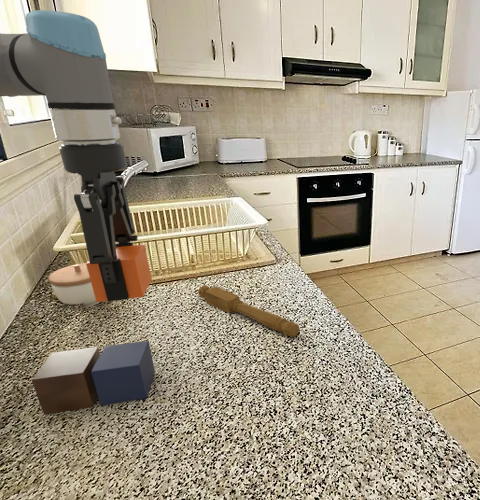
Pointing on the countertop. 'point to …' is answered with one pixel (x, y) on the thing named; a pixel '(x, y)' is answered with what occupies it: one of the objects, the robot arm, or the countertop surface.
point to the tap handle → (246, 310)
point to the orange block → (125, 272)
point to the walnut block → (67, 380)
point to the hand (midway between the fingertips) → (124, 288)
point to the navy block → (123, 372)
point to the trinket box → (73, 285)
